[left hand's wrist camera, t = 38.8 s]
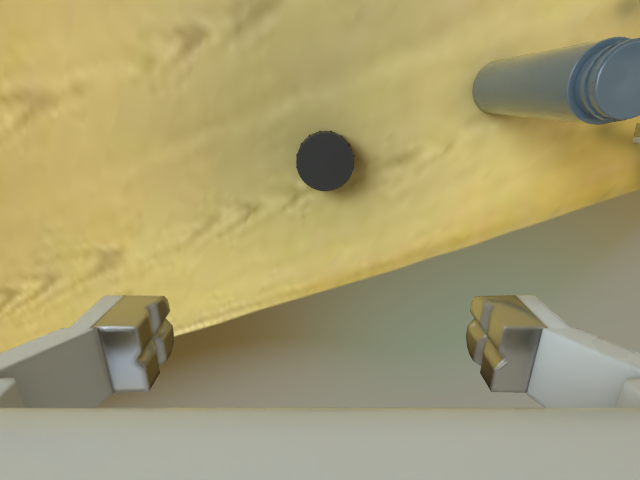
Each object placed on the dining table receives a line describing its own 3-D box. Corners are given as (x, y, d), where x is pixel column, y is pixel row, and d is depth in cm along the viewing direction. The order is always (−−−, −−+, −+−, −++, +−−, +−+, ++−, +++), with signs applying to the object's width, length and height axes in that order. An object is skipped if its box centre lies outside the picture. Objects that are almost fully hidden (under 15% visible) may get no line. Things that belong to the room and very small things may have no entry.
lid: (288, 143, 34) (286, 146, 32) (341, 121, 34) (342, 123, 32) (309, 194, 36) (309, 199, 34) (360, 174, 35) (362, 179, 33)
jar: (529, 63, 32) (695, 37, 18) (514, 116, 33) (656, 131, 19) (480, 56, 32) (608, 25, 18) (466, 110, 33) (575, 121, 19)
